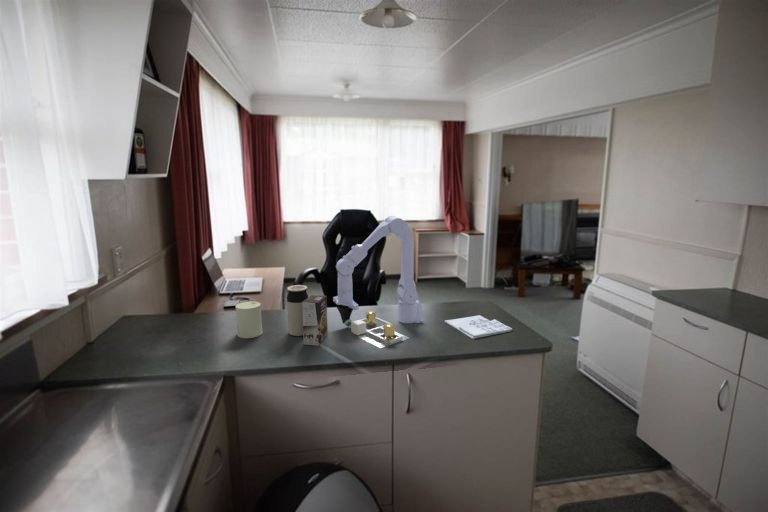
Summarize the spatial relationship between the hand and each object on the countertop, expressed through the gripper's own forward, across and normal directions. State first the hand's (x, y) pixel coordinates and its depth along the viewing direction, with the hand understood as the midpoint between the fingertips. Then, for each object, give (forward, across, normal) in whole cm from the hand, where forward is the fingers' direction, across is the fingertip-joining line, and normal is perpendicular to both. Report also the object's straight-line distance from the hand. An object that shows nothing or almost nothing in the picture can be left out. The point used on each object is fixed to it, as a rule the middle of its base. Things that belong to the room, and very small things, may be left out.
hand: (345, 323), depth 163 cm
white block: (+2, +9, 0) cm, 9 cm away
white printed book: (+3, +32, +42) cm, 53 cm away
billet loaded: (+1, +22, +4) cm, 22 cm away
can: (+3, -19, -31) cm, 37 cm away
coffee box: (+3, +3, -15) cm, 15 cm away
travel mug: (+3, -8, -16) cm, 18 cm away
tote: (+2, +4, +9) cm, 10 cm away
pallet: (+2, +19, +4) cm, 19 cm away
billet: (+2, +5, +9) cm, 10 cm away
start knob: (+1, +5, 0) cm, 5 cm away
